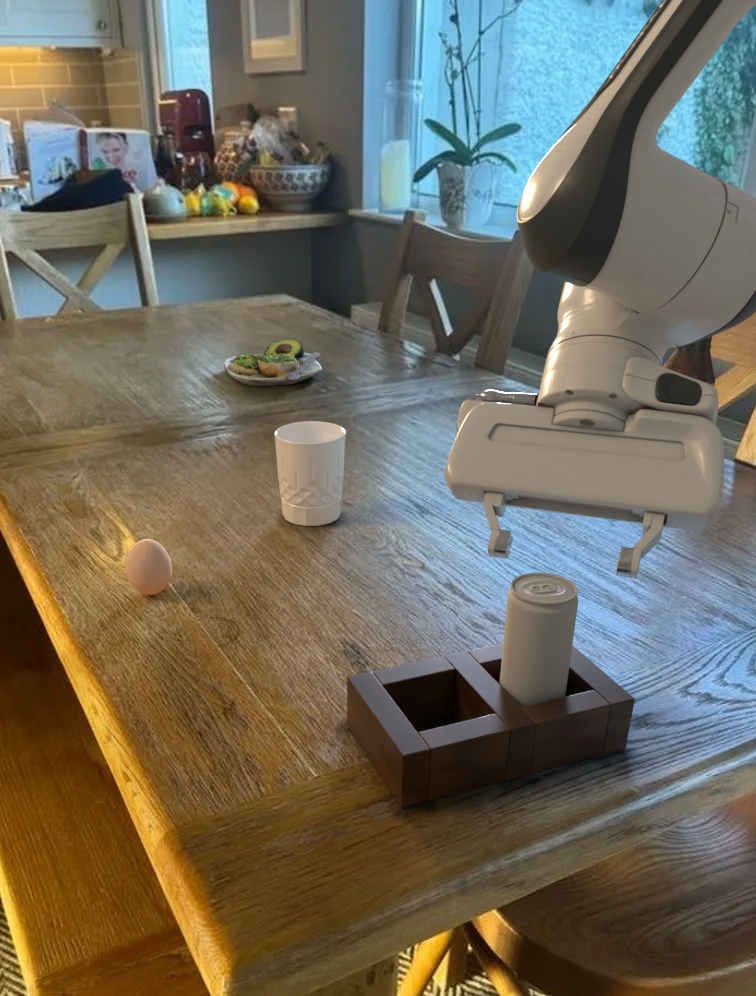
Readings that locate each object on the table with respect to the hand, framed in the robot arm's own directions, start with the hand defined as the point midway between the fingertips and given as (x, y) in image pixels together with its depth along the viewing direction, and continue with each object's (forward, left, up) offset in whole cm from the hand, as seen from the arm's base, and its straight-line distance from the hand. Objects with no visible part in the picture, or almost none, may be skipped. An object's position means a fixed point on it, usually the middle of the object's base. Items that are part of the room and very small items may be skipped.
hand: (560, 564), depth 67 cm
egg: (+27, -28, -12) cm, 41 cm away
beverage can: (+4, +4, -12) cm, 13 cm away
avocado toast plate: (-9, -102, -12) cm, 103 cm away
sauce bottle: (-40, -35, -12) cm, 55 cm away
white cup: (+6, -40, -12) cm, 42 cm away
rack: (+8, +4, -11) cm, 14 cm away
